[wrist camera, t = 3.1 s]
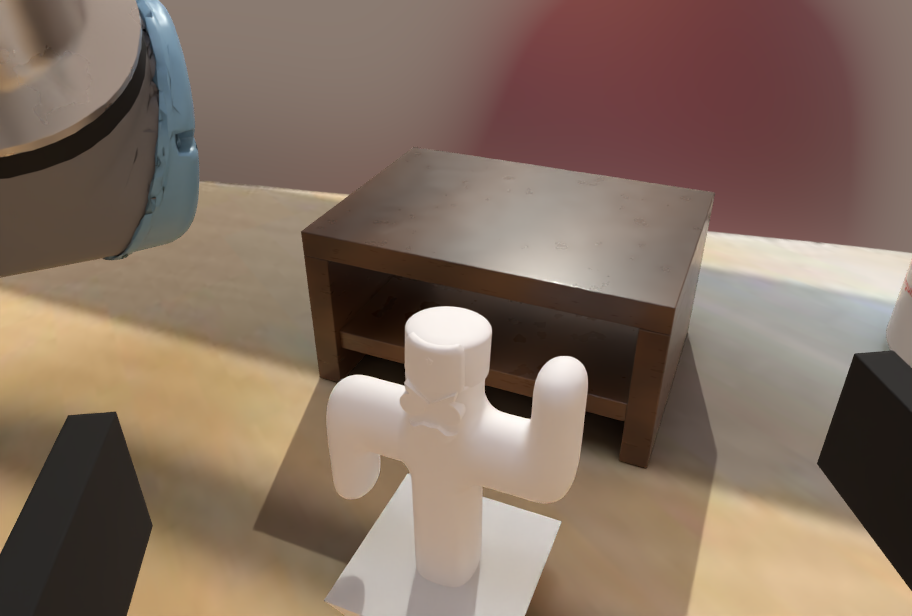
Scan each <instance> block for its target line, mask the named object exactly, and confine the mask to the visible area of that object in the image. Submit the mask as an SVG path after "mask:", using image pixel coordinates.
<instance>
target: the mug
mask: <svg viewBox="0 0 912 616" xmlns="http://www.w3.org/2000/svg"><path fill="white" fill-rule="evenodd" d="M886 338H887V343H888V346H889V348H890V350H891V351H894V352H895V353H897V354H898V355H899V356H900V357H901V358H902V359H903V360H904V361H905V362H906V363H907V364H908V365H909V366H910V367H911V368H912V260H911V263H910V266H909V268H908V271H907V274H906V277H905V279H904V282H903V285H902V287H901V290H900V293H899V296H898V298H897V301H896V304H895V307H894V309H893V312H892V315H891V317H890V320H889V323H888V326H887V330H886Z"/></svg>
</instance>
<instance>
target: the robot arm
mask: <svg viewBox="0 0 912 616" xmlns="http://www.w3.org/2000/svg"><path fill="white" fill-rule="evenodd" d="M194 131H195V118H194V107H193V100H192V94H191V88H190V83H189V78H188V73H187V68H186V63H185V60H184V55H183V52H182V48H181V45H180V41H179V38H178V36H177V33H176V30H175V26H174V24H173V21H172V19H171V17H170V15H169V13H168V11H167V10H166V8H165V7H164V5H163V4H162V3H161V2H160V1H158V0H0V278H1V277H6V276H11V275H16V274H22V273H27V272H32V271H37V270H43V269H48V268H53V267H58V266H64V265H69V264H74V263H79V262H85V261H90V260H95V259H100V258H103V259H105V260H118V259H123V258H126V257H128V255H130V254H132V253H133V252H136V251H140V250H144V249H148V248H152V247H156V246H160V245H164V244H168V243H171V242H173V241H175V240H176V239H178V238H180V237H181V236H182V235H183V234H184V233H185V232H186V231H187V230H188V229H189V227H190V225H191V223H192V222H193V219H194V216H195V213H196V209H197V204H198V195H199V158H198V149H197V145H196V142H195V139H194V137H193V136H194ZM817 464H818V466H819V467H820V468H821V470H822V471H823V472H824V474H825V475H826V476H827V478H828V479H829V480H830V482H831V483H832V485H833V486H834V487H835V489H836V490H837V491H838V493H839V494H840V495H841V497H842V498H843V499H844V501H845V502H846V503H847V505H848V506H849V507H850V509H851V510H852V511H853V513H854V514H855V515H856V517H857V518H858V519H859V521H860V522H861V524H862V525H863V526H864V528H865V529H866V530H867V532H868V533H869V534H870V536H871V537H872V538H873V540H874V541H875V542H876V544H877V545H878V546H879V548H880V549H881V550H882V552H883V553H884V554H885V556H886V557H887V559H888V560H889V561H890V563H891V564H892V565H893V567H894V568H895V569H896V571H897V572H898V573H899V575H900V576H901V577H902V579H903V580H904V581H905V583H906V584H907V585H908V587H909V588H910V589H911V591H912V368H911V367H910V366H909V365H908V364H907V363H906V362H905V361H904V360H903V359H902V358H901V357H900V356H899V355H898V354H897V353H895V352H894V351H882V352H870V353H857V354H854V357H853V360H852V363H851V366H850V368H849V371H848V374H847V377H846V380H845V383H844V386H843V389H842V392H841V395H840V398H839V401H838V404H837V407H836V410H835V412H834V415H833V418H832V421H831V424H830V427H829V430H828V433H827V436H826V439H825V442H824V445H823V448H822V451H821V454H820V456H819V459H818V462H817ZM152 526H153V525H152V522H151V519H150V516H149V513H148V510H147V507H146V503H145V500H144V497H143V494H142V491H141V488H140V485H139V482H138V479H137V476H136V472H135V469H134V466H133V463H132V460H131V457H130V454H129V451H128V448H127V445H126V441H125V438H124V435H123V432H122V429H121V426H120V423H119V420H118V417H117V414H116V412H106V413H93V414H81V415H68V417H67V419H66V421H65V423H64V425H63V427H62V429H61V431H60V433H59V435H58V437H57V439H56V441H55V443H54V446H53V448H52V450H51V452H50V454H49V456H48V458H47V460H46V462H45V464H44V466H43V468H42V470H41V472H40V474H39V476H38V478H37V480H36V482H35V484H34V486H33V488H32V490H31V492H30V494H29V497H28V499H27V501H26V503H25V505H24V507H23V509H22V511H21V513H20V515H19V517H18V519H17V521H16V523H15V525H14V527H13V529H12V531H11V533H10V535H9V537H8V539H7V541H6V543H5V546H4V548H3V550H2V552H1V554H0V616H127V612H128V609H129V606H130V602H131V599H132V595H133V592H134V588H135V585H136V581H137V578H138V574H139V571H140V567H141V564H142V561H143V557H144V554H145V550H146V547H147V543H148V540H149V536H150V533H151V529H152Z"/></svg>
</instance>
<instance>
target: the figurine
mask: <svg viewBox="0 0 912 616" xmlns="http://www.w3.org/2000/svg"><path fill="white" fill-rule="evenodd" d="M491 339H492V327H491V325H490V323H489V322H488V321H487V319H486V318H484V317H483V316H482V315H480V314H478V313H476V312H474V311H471V310H468V309H465V308H460V307H451V306H442V307H433V308H428V309H424V310H422V311H419V312H417V313H415V314H414V315H413V316H411V317H410V318H409V319H408V321H407V322H406V325H405V377H406V381H405V382H404V385H405V386H403V385H400V384H396V383H392V382H388V381H385V380H381V379H377V378H374V377H370V376H365V375H352V376H348V377H346V378H344V379H342V380H341V381H339V382H338V383H337V385H336V386H335V387H334V388H333V390H332V392H331V394H330V397H329V400H328V404H327V412H326V428H327V438H328V446H329V454H330V461H331V469H332V477H333V483H334V487H335V490H336V491H337V493H338V494H339V495H340V496H341V497H343V498H345V499H358V498H360V497H362V496H364V495H365V494H367V493H368V492H369V491H370V490H371V489H372V488H373V486H374V485H375V483H376V481H377V479H378V477H379V473H380V455H382V456H385V457H388V458H392V459H395V460H398V461H401V462H403V463H404V464H405V465H406V467H407V469H408V470H409V473H410V474H407V475H406V477H405V478H404V480H403V481H402V483H401V484H400V486H399V487H398V489H397V490H396V492H395V493H394V495H393V496H392V498H391V499H390V501H389V502H388V504H387V505H386V507H385V509H384V510H383V512H382V513H381V515H380V516H379V518H378V519H377V521H376V522H375V524H374V525H373V527H372V528H371V530H370V531H369V533H368V534H367V536H366V537H365V539H364V540H363V542H362V543H361V545H360V546H359V548H358V549H357V551H356V552H355V554H354V555H353V557H352V559H351V560H350V562H349V563H348V565H347V566H346V568H345V569H344V571H343V572H342V574H341V575H340V577H339V578H338V580H337V581H336V583H335V584H334V586H333V587H332V589H331V590H330V592H329V593H328V595H327V596H326V598H325V599H324V601H325V602H326V603H328V604H329V605H331V606H332V607H333V608H335V609H336V610H338V611H339V612H341V613H342V614H344V615H345V616H525V614H526V611H527V609H528V606H529V604H530V601H531V599H532V596H533V593H534V591H535V588H536V586H537V583H538V581H539V578H540V576H541V573H542V570H543V568H544V565H545V563H546V560H547V558H548V555H549V553H550V550H551V548H552V545H553V542H554V540H555V537H556V535H557V532H558V530H559V527H560V525H561V522H562V521H559V520H556V519H553V518H550V517H546V516H543V515H540V514H537V513H534V512H530V511H527V510H524V509H521V508H518V507H514V506H511V505H508V504H505V503H502V502H498V501H495V500H492V499H489V498H485V497H483V487H486V488H489V489H493V490H496V491H499V492H502V493H506V494H509V495H512V496H516V497H519V498H522V499H525V500H529V501H532V502H537V503H553V502H556V501H559V500H560V499H562V498H563V497H564V496H565V495H566V494H567V492H568V491H569V489H570V487H571V486H572V484H573V481H574V479H575V475H576V472H577V468H578V464H579V459H580V452H581V444H582V436H583V427H584V418H585V409H586V401H587V392H588V376H587V372H586V369H585V367H584V366H583V364H582V363H581V362H580V361H579V360H577V359H575V358H573V357H570V356H558V357H555V358H553V359H551V360H549V361H548V362H547V363H546V364H545V365H544V366H543V367H542V368H541V370H540V372H539V373H538V376H537V378H536V381H535V385H534V391H533V402H532V414H531V419H526V418H522V417H519V416H515V415H511V414H508V413H504V412H501V411H499V410H497V409H496V408H494V407H493V406H492V405H491V404H490V403H489V401H488V399H487V397H486V395H485V378H486V377H487V375H488V373H489V366H490V352H491Z"/></svg>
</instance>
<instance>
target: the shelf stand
mask: <svg viewBox="0 0 912 616" xmlns="http://www.w3.org/2000/svg"><path fill="white" fill-rule="evenodd" d="M714 195H715V193H713V192H708V191H701V190H694V189H688V188H681V187H675V186H668V185H661V184H654V183H648V182H641V181H635V180H629V179H622V178H615V177H608V176H602V175H596V174H589V173H583V172H575V171H569V170H563V169H556V168H549V167H543V166H536V165H529V164H523V163H517V162H510V161H504V160H497V159H490V158H484V157H477V156H471V155H463V154H458V153H450V152H444V151H437V150H430V149H424V148H418V147H413V148H412V149H411V150H409V151H408V152H407V153H405V154H404V155H403V156H401V157H400V158H399V159H397V160H396V161H395V162H393V163H392V164H391V165H389V166H388V167H387V168H385V169H384V170H383V171H381V172H380V173H379V174H377V175H376V176H375V177H373V178H372V179H371V180H369V181H368V182H366V183H365V184H364V185H362V186H361V187H360V188H358V189H357V190H356V191H354V192H353V193H352V194H350V195H349V196H348V197H346V198H345V199H344V200H342V201H341V202H340V203H338V204H337V205H336V206H334V207H333V208H332V209H330V210H329V211H328V212H326V213H325V214H324V215H322V216H321V217H320V218H318V219H317V220H316V221H314V222H313V223H312V224H310V225H309V226H308V227H306V228H305V229H304V230H302V231H301V234H302V242H303V250H304V255H305V256H304V258H305V266H306V273H307V281H308V289H309V297H310V304H311V312H312V320H313V328H314V336H315V343H316V351H317V359H318V367H319V374H320V377H321V378H324V379H328V380H332V381H335V382H339V381H341V380H342V379H344V378H345V377H346V376H347V375H348V374H349V373H350V372H351V371H352V370H353V369H354V367H355V366H356V365H357V364H358V363H359V362H360V361H361V360H362V359H363V357H364V356H365V355H366V354H368V355H372V356H376V357H380V358H384V359H387V360H391V361H395V362H399V363H403V364H405V325H406V322H407V321H408V319H409V318H410V317H411V316H413V315H414V314H415V313H417V312H419V311H422V310H424V309H428V308H433V307H442V306H451V307H460V308H465V309H468V310H471V311H474V312H476V313H478V314H480V315H482V316H483V317H484V318H486V319H487V321H488V322H489V323H490V325H491V327H492V339H491V352H490V366H489V373H488V375H487V377H486V378H485V385H487V386H491V387H495V388H498V389H502V390H506V391H510V392H514V393H517V394H521V395H525V396H529V397H533V391H534V385H535V381H536V378H537V376H538V373H539V372H540V370H541V368H542V367H543V366H544V365H545V364H546V363H547V362H548V361H549V360H551V359H553V358H555V357H558V356H570V357H573V358H575V359H577V360H579V361H580V362H581V363H582V364H583V366H584V367H585V369H586V372H587V376H588V392H587V401H586V409H585V411H586V412H590V413H594V414H598V415H602V416H605V417H609V418H613V419H617V420H621V421H625V422H624V429H623V435H622V442H621V448H620V455H619V461H622V462H625V463H629V464H633V465H636V466H640V467H643V468H647V466H648V462H649V459H650V456H651V452H652V449H653V446H654V442H655V439H656V436H657V432H658V429H659V426H660V422H661V419H662V416H663V412H664V409H665V406H666V402H667V399H668V396H669V392H670V389H671V386H672V382H673V379H674V376H675V372H676V369H677V366H678V362H679V359H680V355H681V352H682V349H683V345H684V342H685V339H686V335H687V332H688V328H689V323H690V318H691V313H692V308H693V302H694V297H695V292H696V287H697V282H698V277H699V272H700V267H701V262H702V257H703V251H704V246H705V241H706V236H707V231H708V226H709V221H710V215H711V211H712V206H713V201H714Z"/></svg>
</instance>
